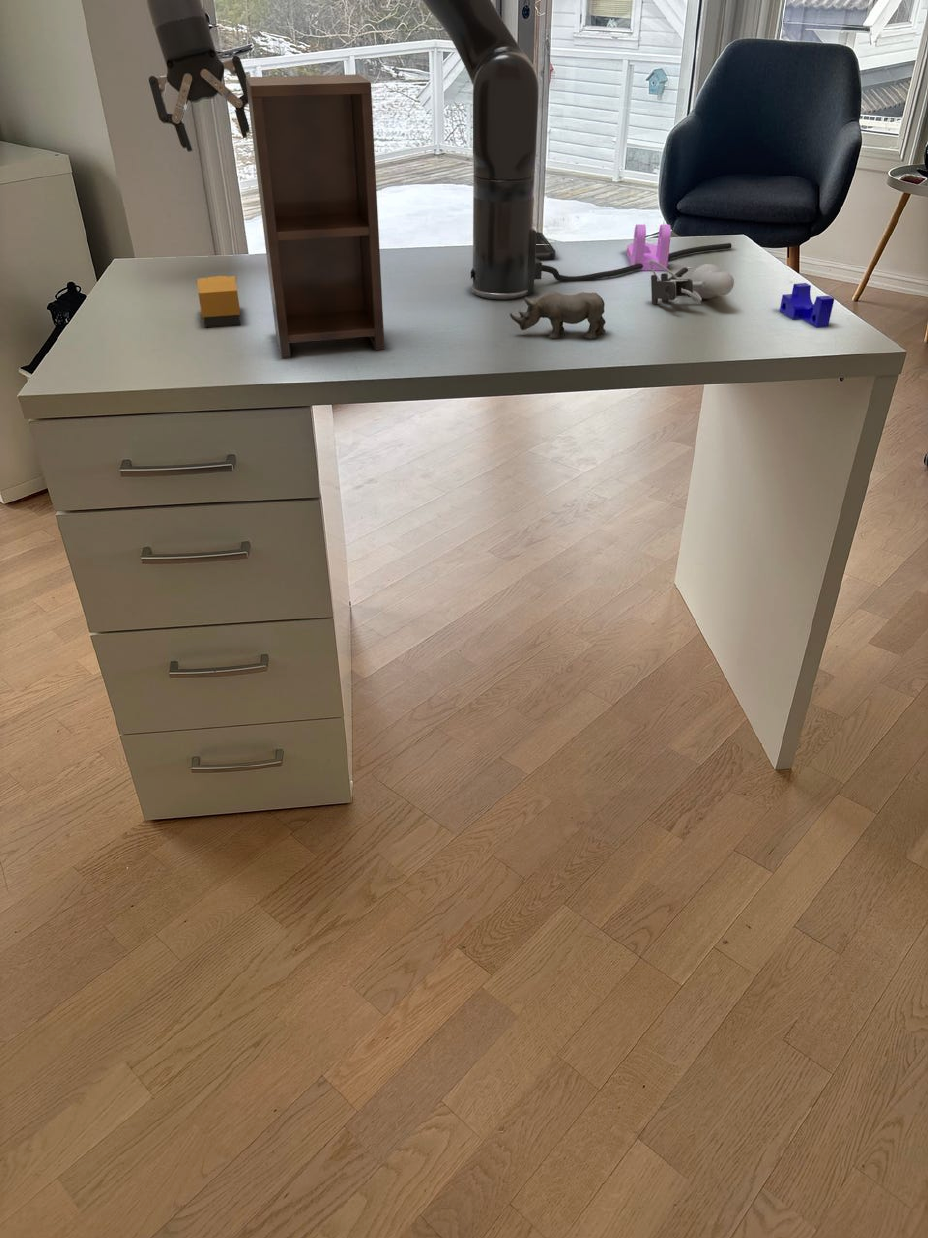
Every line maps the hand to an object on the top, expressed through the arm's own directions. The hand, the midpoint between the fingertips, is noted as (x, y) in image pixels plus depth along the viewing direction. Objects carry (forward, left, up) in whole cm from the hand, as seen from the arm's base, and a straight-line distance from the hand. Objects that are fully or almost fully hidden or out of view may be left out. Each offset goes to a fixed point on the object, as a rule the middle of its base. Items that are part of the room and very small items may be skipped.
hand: (217, 143), depth 141 cm
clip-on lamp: (-68, +25, -21) cm, 75 cm away
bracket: (-71, +3, -21) cm, 74 cm away
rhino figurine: (-43, +37, -21) cm, 60 cm away
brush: (+3, +13, -21) cm, 25 cm away
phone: (-53, -9, -21) cm, 58 cm away
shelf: (-11, +32, -21) cm, 40 cm away
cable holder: (-81, +39, -21) cm, 92 cm away
